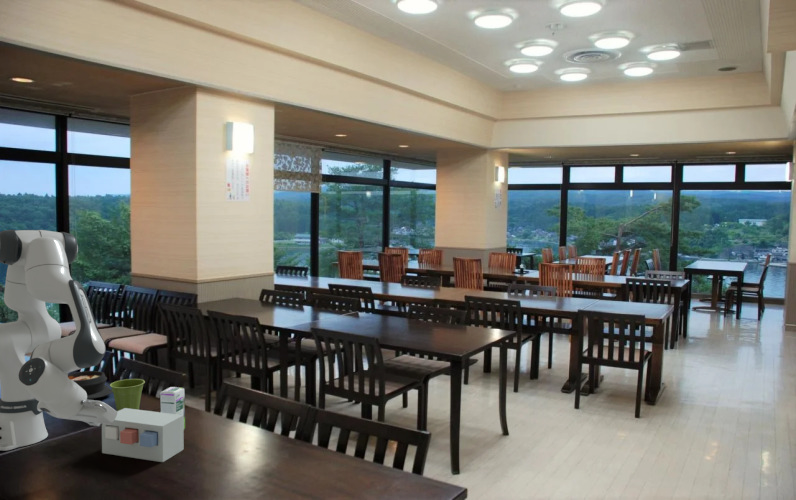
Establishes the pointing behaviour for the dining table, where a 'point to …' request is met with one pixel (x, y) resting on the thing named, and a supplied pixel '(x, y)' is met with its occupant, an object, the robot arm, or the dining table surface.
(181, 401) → the syrup box
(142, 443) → the blue key
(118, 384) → the plant pot
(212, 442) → the dining table surface
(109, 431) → the white key
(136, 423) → the key console
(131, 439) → the red key
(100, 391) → the casserole
